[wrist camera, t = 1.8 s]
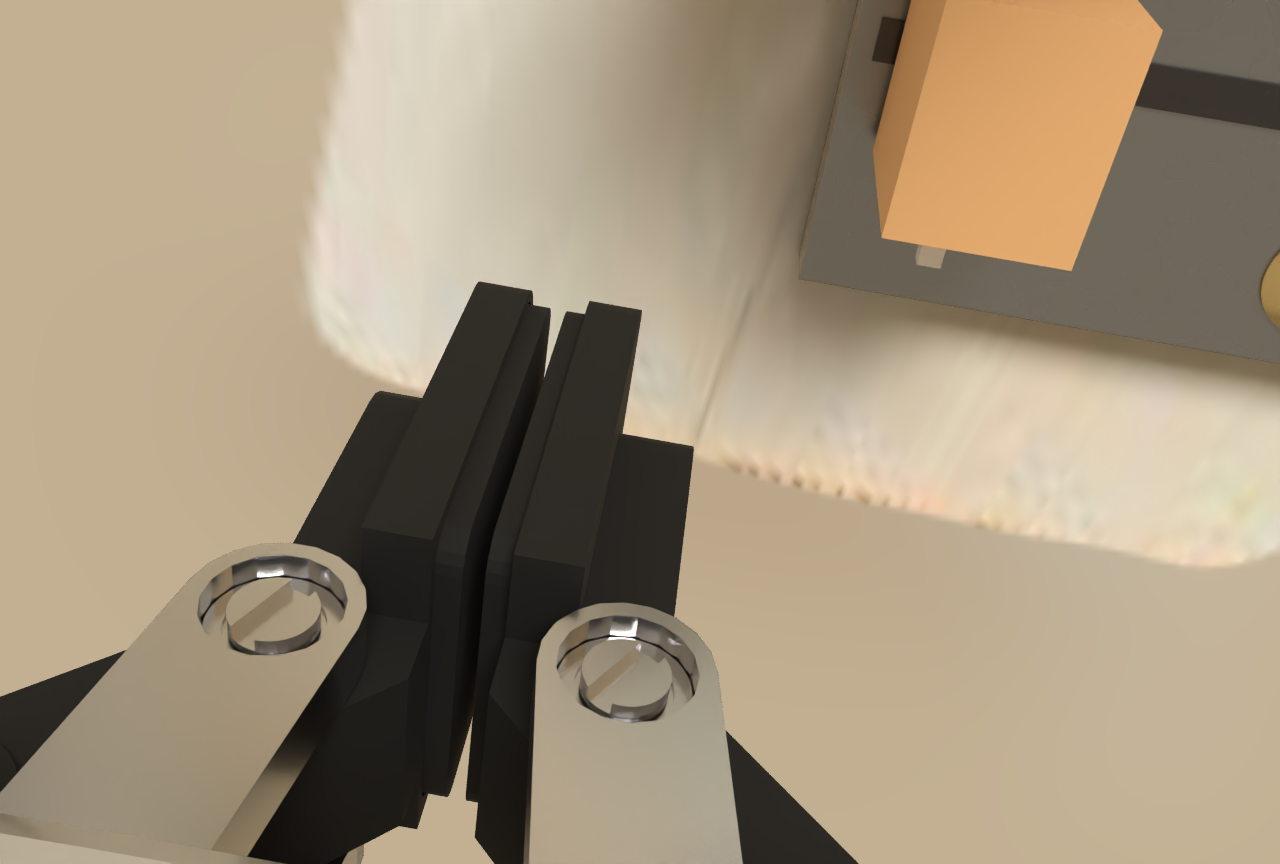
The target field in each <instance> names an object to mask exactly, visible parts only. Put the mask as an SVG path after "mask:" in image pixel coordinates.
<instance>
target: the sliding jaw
mask: <svg viewBox="0 0 1280 864" xmlns="http://www.w3.org/2000/svg"><path fill="white" fill-rule="evenodd" d="M1162 32H1163V30H1162V29H1161V28H1160V26H1159V25H1158V24H1157V23H1156V22H1155V20H1154V19H1153V18H1152V17H1151V16H1150V14H1149V13H1148V12H1147V11H1146V10H1145V8H1144V7H1143V6H1142V5H1141V4H1140V2H1139V1H1138V0H911V3H910V7H909V11H908V15H907V19H906V23H905V27H904V31H903V34H902V38H901V42H900V46H899V50H898V54H897V58H896V62H895V66H894V70H893V73H892V77H891V81H890V85H889V89H888V93H887V97H886V101H885V105H884V109H883V112H882V116H881V120H880V124H879V128H878V132H877V136H876V140H875V144H874V148H873V158H874V168H875V178H876V188H877V198H878V208H879V218H880V228H881V237H882V238H885V239H890V240H896V241H902V242H908V243H913V244H919V245H918V248H917V251H916V255H915V258H916V265H921V266H927V267H932V268H938V269H940V268H941V264H942V261H943V258H944V255H945V252H946V249H948V250H953V251H959V252H965V253H971V254H976V255H982V256H988V257H993V258H999V259H1005V260H1011V261H1016V262H1022V263H1028V264H1034V265H1039V266H1045V267H1051V268H1056V269H1062V270H1068V271H1072V268H1073V266H1074V263H1075V260H1076V258H1077V255H1078V252H1079V250H1080V247H1081V245H1082V242H1083V239H1084V237H1085V234H1086V231H1087V229H1088V226H1089V224H1090V221H1091V218H1092V216H1093V213H1094V210H1095V208H1096V205H1097V203H1098V200H1099V197H1100V195H1101V192H1102V189H1103V187H1104V184H1105V182H1106V179H1107V176H1108V174H1109V171H1110V168H1111V166H1112V163H1113V161H1114V158H1115V155H1116V153H1117V150H1118V147H1119V145H1120V142H1121V140H1122V137H1123V134H1124V132H1125V129H1126V126H1127V124H1128V121H1129V119H1130V116H1131V113H1132V111H1133V108H1134V105H1135V103H1136V100H1137V98H1138V95H1139V92H1140V90H1141V87H1142V84H1143V82H1144V79H1145V77H1146V74H1147V71H1148V69H1149V66H1150V63H1151V61H1152V58H1153V56H1154V53H1155V50H1156V48H1157V45H1158V42H1159V40H1160V37H1161V35H1162Z"/></svg>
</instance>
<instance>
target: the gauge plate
mask: <svg viewBox="0 0 1280 864" xmlns="http://www.w3.org/2000/svg"><path fill="white" fill-rule="evenodd" d="M1138 1H1139V2H1140V4H1141V5H1142V6H1143V7H1144V8H1145V10H1146V11H1147V12H1148V13H1149V14H1150V16H1151V17H1152V18H1153V19H1154V20H1155V22H1156V23H1157V24H1158V25H1159V26H1160V28H1161V29H1162V30H1163V32H1162V35H1161V37H1160V40H1159V42H1158V45H1157V48H1156V50H1155V53H1154V56H1153V58H1152V61H1151V63H1150V66H1149V69H1148V71H1147V74H1146V77H1145V79H1144V82H1143V84H1142V87H1141V90H1140V92H1139V95H1138V98H1137V100H1136V103H1135V105H1134V108H1133V111H1132V113H1131V116H1130V119H1129V121H1128V124H1127V126H1126V129H1125V132H1124V134H1123V137H1122V140H1121V142H1120V145H1119V147H1118V150H1117V153H1116V155H1115V158H1114V161H1113V163H1112V166H1111V168H1110V171H1109V174H1108V176H1107V179H1106V182H1105V184H1104V187H1103V189H1102V192H1101V195H1100V197H1099V200H1098V203H1097V205H1096V208H1095V210H1094V213H1093V216H1092V218H1091V221H1090V224H1089V226H1088V229H1087V231H1086V234H1085V237H1084V239H1083V242H1082V245H1081V247H1080V250H1079V252H1078V255H1077V258H1076V260H1075V263H1074V266H1073V268H1072V271H1068V270H1062V269H1056V268H1051V267H1045V266H1039V265H1034V264H1028V263H1022V262H1016V261H1011V260H1005V259H999V258H993V257H988V256H982V255H976V254H971V253H965V252H959V251H953V250H948V249H946V252H945V255H944V258H943V261H942V264H941V268H940V269H938V268H932V267H927V266H921V265H916V258H915V255H916V251H917V248H918V245H919V244H913V243H908V242H902V241H896V240H890V239H885V238H882V237H881V228H880V218H879V208H878V198H877V188H876V178H875V168H874V158H873V148H874V144H875V140H876V136H877V132H878V128H879V124H880V120H881V116H882V112H883V109H884V105H885V101H886V97H887V93H888V89H889V85H890V81H891V77H892V73H893V70H894V66H895V62H896V58H897V54H898V50H899V46H900V42H901V38H902V34H903V31H904V27H905V23H906V19H907V15H908V11H909V7H910V3H911V0H858V3H857V7H856V12H855V16H854V20H853V25H852V29H851V33H850V38H849V42H848V46H847V51H846V55H845V59H844V64H843V68H842V72H841V77H840V81H839V85H838V90H837V94H836V98H835V103H834V107H833V111H832V116H831V120H830V124H829V129H828V133H827V137H826V142H825V146H824V150H823V155H822V159H821V163H820V168H819V172H818V176H817V180H816V185H815V189H814V193H813V198H812V202H811V206H810V211H809V215H808V219H807V224H806V228H805V232H804V237H803V241H802V245H801V250H800V254H799V279H802V280H808V281H814V282H819V283H825V284H831V285H836V286H842V287H848V288H853V289H859V290H865V291H870V292H876V293H882V294H888V295H893V296H899V297H905V298H910V299H916V300H922V301H927V302H933V303H939V304H944V305H950V306H956V307H961V308H967V309H973V310H978V311H984V312H990V313H996V314H1001V315H1007V316H1013V317H1018V318H1024V319H1030V320H1035V321H1041V322H1047V323H1052V324H1058V325H1064V326H1069V327H1075V328H1081V329H1086V330H1092V331H1098V332H1103V333H1109V334H1115V335H1121V336H1126V337H1132V338H1138V339H1143V340H1149V341H1155V342H1160V343H1166V344H1172V345H1177V346H1183V347H1189V348H1194V349H1200V350H1206V351H1211V352H1217V353H1223V354H1229V355H1234V356H1240V357H1246V358H1251V359H1257V360H1263V361H1268V362H1274V363H1280V0H1138Z"/></svg>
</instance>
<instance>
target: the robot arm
mask: <svg viewBox="0 0 1280 864" xmlns="http://www.w3.org/2000/svg"><path fill="white" fill-rule="evenodd" d="M641 315H642V310H638V309H632V308H626V307H621V306H615V305H609V304H604V303H598V302H592V301H589V304H588V307H587V310H586V313H585V314H580V313H574V312H568V311H567V312H566V313H565V316H564V319H563V322H562V325H561V328H560V331H559V334H558V338H557V341H556V344H555V347H554V350H553V353H552V356H551V359H550V362H549V365H548V368H547V371H546V374H545V377H544V372H545V363H546V354H547V345H548V337H549V328H550V317H551V310H550V308H546V307H540V306H534V305H533V293H532V291H530V290H525V289H519V288H513V287H508V286H502V285H496V284H491V283H485V282H478V283H477V285H476V286H475V288H474V291H473V293H472V295H471V297H470V299H469V301H468V303H467V305H466V307H465V309H464V312H463V314H462V316H461V318H460V320H459V322H458V324H457V326H456V328H455V331H454V333H453V335H452V337H451V339H450V341H449V343H448V345H447V347H446V349H445V352H444V354H443V356H442V358H441V360H440V362H439V364H438V366H437V368H436V371H435V373H434V375H433V377H432V379H431V381H430V383H429V385H428V387H427V389H426V392H425V394H424V396H423V398H418V397H412V396H407V395H401V394H395V393H390V392H384V391H379V392H377V393H375V395H374V396H373V398H372V399H371V401H370V402H369V404H368V406H367V408H366V409H365V411H364V413H363V415H362V417H361V419H360V421H359V422H358V424H357V426H356V428H355V430H354V432H353V434H352V435H351V437H350V439H349V441H348V443H347V444H346V446H345V448H344V450H343V452H342V454H341V456H340V457H339V459H338V461H337V463H336V465H335V467H334V469H333V470H332V472H331V474H330V476H329V478H328V480H327V481H326V483H325V485H324V487H323V489H322V491H321V493H320V494H319V496H318V498H317V500H316V502H315V504H314V505H313V507H312V509H311V511H310V513H309V515H308V517H307V518H306V520H305V522H304V524H303V526H302V528H301V530H300V531H299V533H298V535H297V537H296V539H295V541H294V542H293V543H272V544H259V545H255V546H250V547H246V548H242V549H238V550H234V551H232V552H230V553H228V554H225V555H223V556H221V557H219V558H217V559H215V560H213V561H211V562H209V563H208V564H207V565H205V566H204V567H203V568H202V569H201V570H200V571H198V572H197V573H196V574H195V575H194V576H192V577H191V578H190V579H189V580H188V581H187V583H186V584H185V585H184V586H183V587H182V588H181V589H180V591H179V592H178V593H177V594H176V595H175V596H174V597H173V598H172V599H171V601H170V602H169V603H168V604H167V605H166V606H165V607H164V608H163V610H162V611H161V612H160V613H159V614H158V615H157V616H156V617H155V619H154V620H153V621H152V622H151V623H150V624H149V625H148V626H147V628H146V629H145V630H144V631H143V632H142V633H141V634H140V636H139V637H138V638H137V639H136V640H135V641H134V642H133V644H132V645H131V646H130V647H129V648H128V649H127V650H125V651H122V652H120V653H117V654H114V655H112V656H109V657H106V658H104V659H101V660H98V661H96V662H93V663H90V664H88V665H85V666H82V667H80V668H77V669H74V670H71V671H69V672H66V673H63V674H61V675H58V676H55V677H52V678H50V679H47V680H45V681H42V682H39V683H36V684H34V685H31V686H28V687H26V688H23V689H20V690H17V691H15V692H12V693H9V694H7V695H4V696H1V697H0V864H361V860H362V858H363V856H364V855H363V854H364V853H363V852H364V844H365V843H367V842H369V841H371V840H373V839H375V838H377V837H379V836H380V835H382V834H384V833H386V832H388V831H390V830H392V829H394V828H396V827H398V826H403V827H408V828H414V829H417V827H418V825H419V822H420V818H421V815H422V812H423V809H424V805H425V802H426V799H427V796H428V794H434V795H439V796H445V797H448V796H449V794H450V791H451V788H452V785H453V782H454V778H455V775H456V772H457V768H458V765H459V761H460V758H461V754H462V751H463V748H464V744H465V741H466V737H467V734H468V731H469V727H470V724H471V720H472V717H473V720H472V732H471V744H470V755H469V766H468V777H467V788H466V800H467V801H473V802H478V810H477V820H476V831H475V838H476V840H477V841H478V842H479V844H480V845H481V846H482V847H483V849H484V850H485V852H486V853H487V854H488V856H489V857H490V858H491V860H492V861H493V862H494V864H858V863H857V862H856V861H855V860H854V859H853V858H852V857H851V856H850V855H849V854H848V853H847V852H846V851H845V850H844V849H843V848H842V847H841V846H840V845H839V844H838V843H837V842H836V841H835V840H834V838H833V837H832V836H831V835H830V834H828V832H827V831H826V830H824V828H823V827H822V826H821V825H820V824H819V823H818V822H816V820H815V819H814V818H813V817H811V815H810V814H809V813H807V811H806V810H805V809H804V808H803V807H801V805H799V803H798V802H797V801H796V800H795V799H794V798H793V797H792V796H791V795H790V794H788V792H787V791H786V790H785V789H784V788H783V787H782V786H781V785H780V784H779V783H778V782H777V781H776V780H775V779H774V778H773V777H772V776H771V775H770V774H769V773H768V772H767V771H766V770H765V769H764V768H763V767H762V766H761V765H760V764H759V763H758V762H757V761H756V760H755V759H754V758H753V757H752V756H751V755H750V754H749V753H748V752H747V751H746V750H745V749H744V748H743V747H742V746H741V745H740V744H739V743H738V742H737V741H736V740H735V739H734V738H733V737H732V736H731V735H730V734H729V733H728V732H727V731H726V730H725V723H724V714H723V706H722V699H721V691H720V683H719V675H718V671H717V668H716V665H715V662H714V659H713V656H712V653H711V651H710V649H709V648H708V647H707V646H706V644H705V643H704V642H703V640H702V639H701V638H700V637H699V635H698V634H697V633H696V632H695V631H693V630H692V629H691V628H689V627H688V626H686V625H685V624H684V623H683V622H681V621H680V620H679V619H677V618H675V617H674V613H675V605H676V596H677V588H678V580H679V571H680V563H681V554H682V545H683V537H684V529H685V520H686V512H687V504H688V495H689V487H690V478H691V470H692V462H693V452H694V447H693V446H688V445H682V444H677V443H671V442H665V441H660V440H654V439H648V438H643V437H637V436H632V435H626V434H622V433H623V426H624V420H625V414H626V408H627V402H628V396H629V390H630V383H631V377H632V371H633V365H634V359H635V353H636V347H637V340H638V334H639V328H640V322H641Z"/></svg>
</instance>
